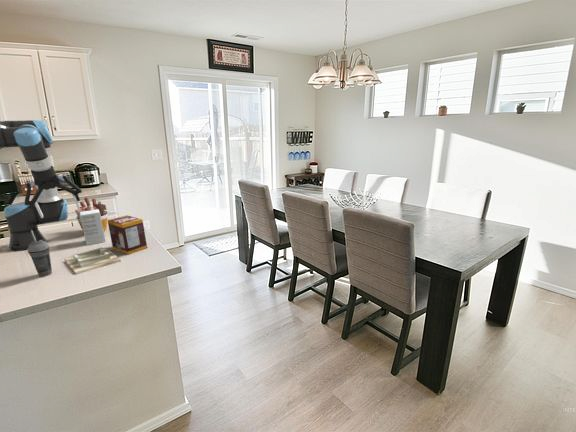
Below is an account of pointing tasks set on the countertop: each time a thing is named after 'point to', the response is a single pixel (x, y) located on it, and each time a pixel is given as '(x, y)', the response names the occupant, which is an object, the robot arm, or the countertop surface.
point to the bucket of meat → (95, 206)
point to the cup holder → (91, 260)
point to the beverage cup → (40, 256)
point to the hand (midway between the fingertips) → (60, 211)
